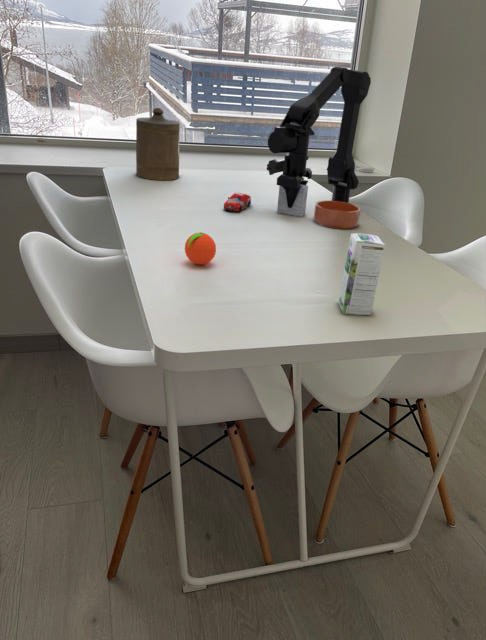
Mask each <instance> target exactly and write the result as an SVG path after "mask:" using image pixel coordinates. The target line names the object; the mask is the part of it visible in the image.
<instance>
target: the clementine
mask: <svg viewBox="0 0 486 640" xmlns="http://www.w3.org/2000/svg"><path fill="white" fill-rule="evenodd" d="M216 252H217V247H216V242H215V240H214V239H213V238H212V237H211V236H210V234H207V233H205V232H202V231H201V232H195V233H193V234H191V235H190V236H189V237H188V238H187V239H186V241H185V244H184V253H185V255H186V258H187V259H188V260H189V261H190V262H191V263H193V264H195V265H201V266H202V265H207V264H209V263H210V262H211V261H212V260H213V259H214V258H215V256H216Z"/></svg>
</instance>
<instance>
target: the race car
mask: <svg viewBox="0 0 486 640" xmlns="http://www.w3.org/2000/svg"><path fill="white" fill-rule="evenodd" d="M251 203H252V197H251V195H249V194H247V193H241V192H234V193H233V194H231V195H230V196H228V197H227V200H226V201H224V203H223V210H225V211H233V212H237V213H241V212H242V210H244V209H246V208H250V206H251Z"/></svg>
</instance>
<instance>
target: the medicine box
mask: <svg viewBox="0 0 486 640" xmlns="http://www.w3.org/2000/svg"><path fill="white" fill-rule="evenodd" d="M300 186H302V187H301V189H300V191H299V193H298V195H297V198H296V200H295V202H294V204H293V206H292V208H288V204H287V197H286V192H285V189H284V188H283V187H282V186H279V185H278V187H279V188H278V198H277V209H276V213H277V214H282V215H288V216H294V217H300V218H302V217H303V216H305V214H306V209H307V200H308V193H309V191H308V190H309V186H308V184H307V185H301V184H300Z"/></svg>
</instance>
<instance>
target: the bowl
mask: <svg viewBox="0 0 486 640" xmlns="http://www.w3.org/2000/svg"><path fill="white" fill-rule="evenodd" d="M350 203H351V202H349V203H346V202H340V201H332V200H319V201H317V202H315V204H314V213H313V221H315V223H316V224H318V225H320V226H322V227H326V228H331V229H336V230H337V229H339V230H349V229H354V228H355V227H357V226H358V225H359V223H360V217H361V208H360V206H358V205H356V204H353V203H351V204H350Z"/></svg>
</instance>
